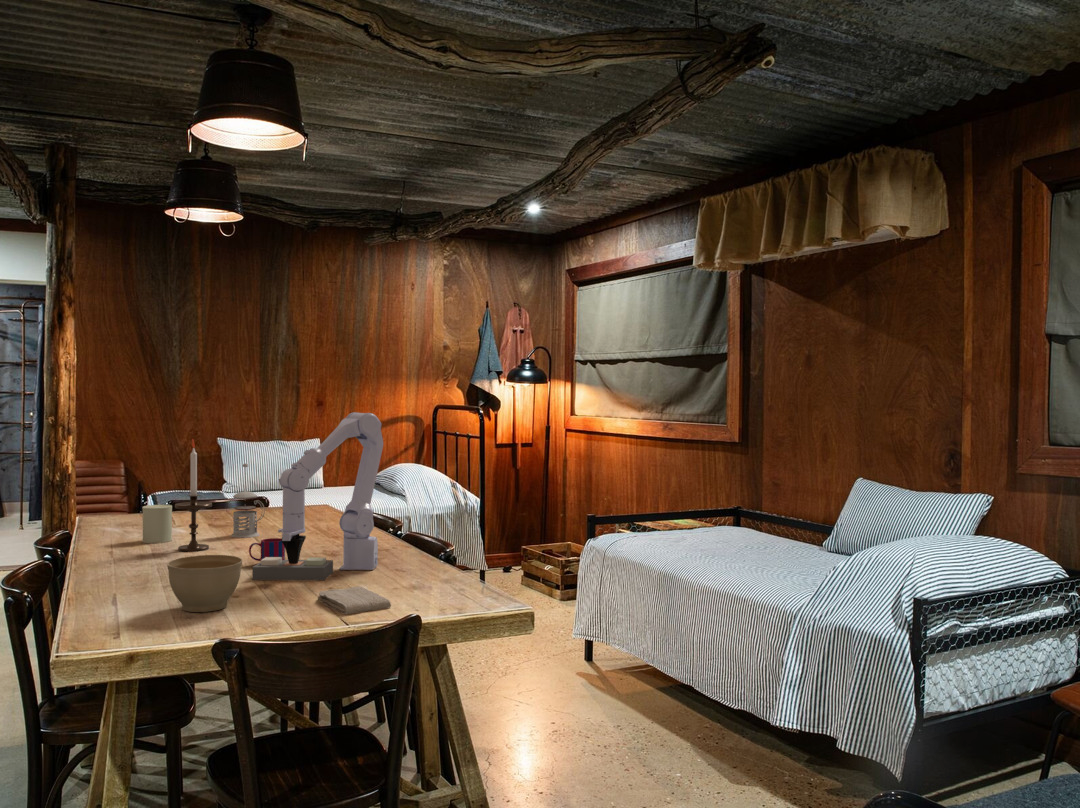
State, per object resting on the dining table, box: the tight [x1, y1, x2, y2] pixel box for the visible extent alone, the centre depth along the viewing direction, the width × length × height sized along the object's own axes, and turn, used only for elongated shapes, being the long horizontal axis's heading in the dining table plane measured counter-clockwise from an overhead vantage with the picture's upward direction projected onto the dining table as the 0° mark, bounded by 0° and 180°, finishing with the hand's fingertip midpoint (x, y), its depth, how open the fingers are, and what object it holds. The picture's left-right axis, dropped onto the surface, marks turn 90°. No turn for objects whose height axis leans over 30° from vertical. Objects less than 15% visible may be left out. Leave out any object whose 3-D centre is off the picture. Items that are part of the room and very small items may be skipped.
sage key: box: [305, 556, 327, 566], centre depth 236 cm, size 4×4×2 cm
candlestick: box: [174, 438, 213, 553], centre depth 274 cm, size 11×11×35 cm
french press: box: [230, 463, 266, 539], centre depth 301 cm, size 10×12×25 cm
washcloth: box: [317, 585, 392, 615], centre depth 206 cm, size 12×18×3 cm, turn 37°
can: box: [141, 503, 173, 544], centre depth 289 cm, size 9×9×12 cm
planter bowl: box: [166, 554, 243, 613], centre depth 201 cm, size 16×16×11 cm
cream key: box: [260, 557, 282, 565], centre depth 236 cm, size 4×4×2 cm
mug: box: [248, 537, 286, 562], centre depth 253 cm, size 7×10×7 cm
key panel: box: [251, 559, 334, 581], centre depth 236 cm, size 19×10×3 cm, turn 90°
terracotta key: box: [283, 561, 304, 566], centre depth 236 cm, size 4×4×2 cm
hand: (293, 563), depth 236 cm, fingers closed, pressing on terracotta key
